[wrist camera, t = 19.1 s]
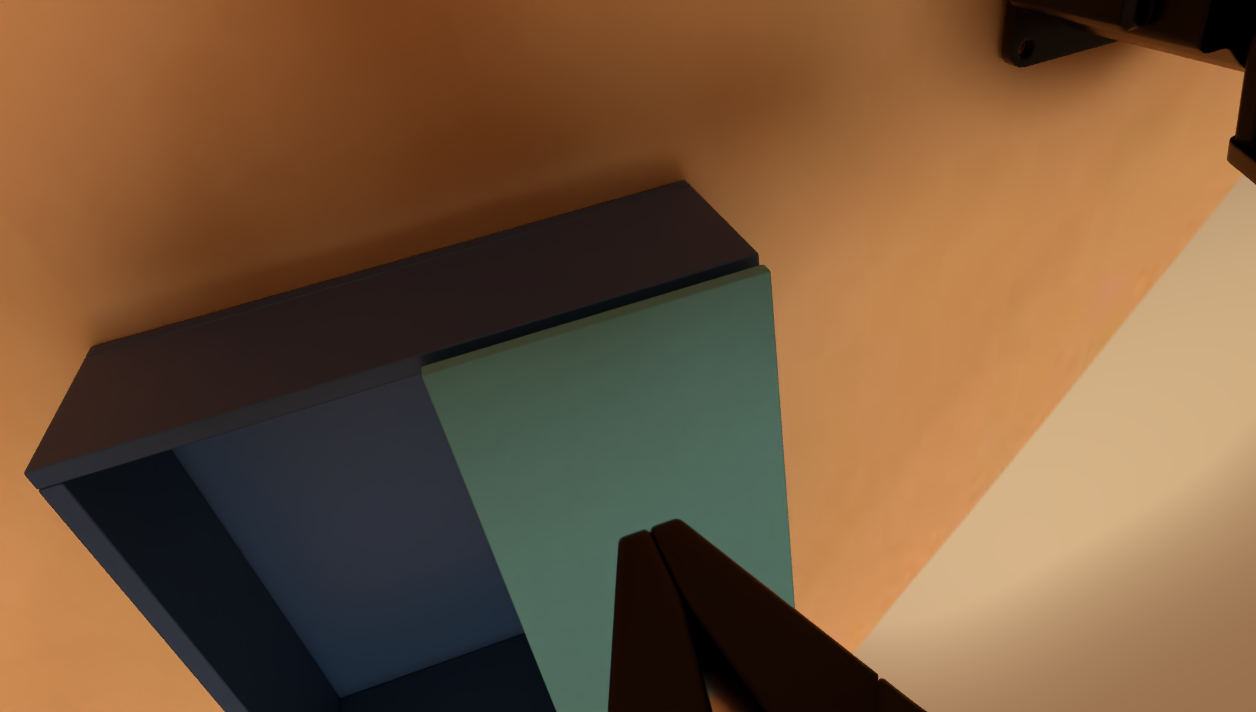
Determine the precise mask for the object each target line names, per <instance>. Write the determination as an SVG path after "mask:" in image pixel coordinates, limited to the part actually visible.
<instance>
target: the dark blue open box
mask: <svg viewBox="0 0 1256 712" xmlns="http://www.w3.org/2000/svg"><path fill="white" fill-rule="evenodd" d="M756 266H759V256H758V253H757V252H756V251H755V250H754V249H753V248H752V247H751V246H750V245H749V244H748V243H747V242H746V241H745V240H744V239H743V238H742V237H741V236H740V235H739V234H738V233H737V232H736V231H735V230H734V229H733V228H732V227H731V226H730V225H729V224H728V223H727V222H726V221H725V220H724V219H723V218H722V217H721V216H720V215H719V214H718V213H717V212H716V211H715V210H714V209H713V208H712V207H711V206H710V205H709V204H708V203H707V202H706V201H705V200H704V199H703V198H702V197H701V196H700V195H699V194H698V193H697V192H696V191H695V190H694V189H693V188H692V187H691V186H690V184H689V183H688V182H687V181H686V180H683V181H679V182H676V183H672V184H669V185H665V186H661V187H658V188H654V189H651V190H647V191H644V192H640V193H637V194H633V195H629V196H626V197H622V198H619V199H615V200H612V201H608V202H605V203H601V204H598V205H594V206H590V207H587V208H583V209H580V210H576V211H573V212H569V213H566V214H562V215H559V216H555V217H551V218H548V219H544V220H541V221H537V222H534V223H530V224H527V225H523V226H519V227H516V228H512V229H509V230H505V231H502V232H498V233H495V234H491V235H488V236H484V237H480V238H477V239H473V240H470V241H466V242H463V243H459V244H456V245H452V246H449V247H445V248H441V249H438V250H434V251H431V252H427V253H424V254H420V255H417V256H413V257H410V258H406V259H402V260H399V261H395V262H392V263H388V264H385V265H381V266H378V267H374V268H370V269H367V270H363V271H360V272H356V273H353V274H349V275H346V276H342V277H339V278H335V279H331V280H328V281H324V282H321V283H317V284H314V285H310V286H307V287H303V288H300V289H296V290H292V291H289V292H285V293H282V294H278V295H275V296H271V297H268V298H264V299H261V300H257V301H253V302H250V303H246V304H243V305H239V306H236V307H232V308H229V309H225V310H221V311H218V312H214V313H211V314H207V315H204V316H200V317H197V318H193V319H190V320H186V321H182V322H179V323H175V324H172V325H168V326H165V327H161V328H158V329H154V330H151V331H147V332H143V333H140V334H136V335H133V336H129V337H126V338H122V339H119V340H115V341H112V342H108V343H104V344H101V345H97V346H94V347H91V348H90V350H89V352H88V354H87V355H86V358H85V359H84V361H83V363H82V365H81V367H80V369H79V371H78V372H77V374H76V376H75V378H74V380H73V382H72V384H71V386H70V388H69V389H68V391H67V393H66V395H65V397H64V399H63V401H62V403H61V404H60V406H59V408H58V410H57V412H56V414H55V416H54V418H53V420H52V421H51V423H50V425H49V427H48V429H47V431H46V433H45V435H44V436H43V438H42V440H41V442H40V444H39V446H38V448H37V450H36V452H35V453H34V455H33V457H32V459H31V461H30V463H29V465H28V467H27V468H26V470H25V472H24V473H25V476H26V477H27V478H28V479H29V481H30V482H31V483H32V484H33V485H34V486H35V488H36V489H39V492H40V494H41V495H42V496H43V497H44V498H45V500H46V501H47V502H48V503H49V504H50V505H51V507H52V508H53V509H54V510H55V511H56V513H57V514H58V515H59V516H60V517H61V518H62V520H63V521H64V522H65V523H66V524H67V526H68V527H69V528H70V529H71V530H72V531H73V533H74V534H75V535H76V536H77V537H78V539H79V540H80V541H81V542H82V543H83V545H84V546H85V547H86V548H87V549H88V550H89V552H90V553H91V554H92V555H93V556H94V558H95V559H96V560H97V561H98V562H99V563H100V565H101V566H102V567H103V568H104V569H105V571H106V572H107V573H108V574H109V575H110V576H111V578H112V579H113V580H114V581H115V582H116V584H117V585H118V586H119V587H120V588H121V589H122V591H123V592H124V593H125V594H126V595H127V597H128V598H129V599H130V600H131V601H132V602H133V604H134V605H135V606H136V607H137V608H138V610H139V611H140V612H141V613H142V614H143V615H144V617H145V618H146V619H147V620H148V621H149V623H150V624H151V625H152V626H153V627H154V628H155V630H156V631H157V632H158V633H159V634H160V636H161V637H162V638H163V639H164V640H165V641H166V643H167V644H168V645H169V646H170V647H171V649H172V650H173V651H174V652H175V653H176V654H177V656H178V657H179V658H180V659H181V660H182V662H183V663H184V664H185V665H186V666H187V667H188V669H189V670H190V671H191V672H192V673H193V675H194V676H195V677H196V678H197V679H198V680H199V682H200V683H201V684H202V685H203V686H204V688H205V689H206V690H207V691H208V692H209V693H210V695H211V696H212V697H213V698H214V699H215V701H216V702H217V703H218V704H219V705H220V706H221V708H222V709H223V710H224V711H225V712H556V710H555V707H554V705H553V702H552V700H551V697H550V695H549V692H548V690H547V687H546V685H545V682H544V680H543V677H542V675H541V672H540V670H539V667H538V665H537V662H536V660H535V657H534V655H533V652H532V650H531V647H530V645H529V642H528V640H527V637H526V635H525V632H524V630H523V627H522V625H521V622H520V620H519V617H518V615H517V613H516V610H515V608H514V605H513V603H512V600H511V598H510V595H509V593H508V590H507V588H506V585H505V583H504V580H503V578H502V575H501V573H500V570H499V568H498V565H497V563H496V560H495V558H494V555H493V553H492V550H491V548H490V545H489V543H488V540H487V538H486V535H485V533H484V530H483V528H482V525H481V523H480V520H479V518H478V515H477V513H476V511H475V508H474V506H473V503H472V501H471V498H470V496H469V493H468V491H467V488H466V486H465V483H464V481H463V478H462V476H461V473H460V471H459V468H458V466H457V463H456V461H455V458H454V456H453V453H452V451H451V448H450V446H449V443H448V441H447V438H446V436H445V433H444V431H443V428H442V426H441V423H440V421H439V418H438V416H437V413H436V411H435V409H434V406H433V404H432V401H431V399H430V396H429V394H428V391H427V389H426V386H425V384H424V381H423V379H422V374H421V367H423V366H426V365H429V364H432V363H436V362H439V361H442V360H446V359H449V358H452V357H456V356H459V355H462V354H466V353H469V352H472V351H476V350H479V349H482V348H486V347H489V346H492V345H496V344H499V343H502V342H506V341H509V340H512V339H516V338H519V337H522V336H526V335H529V334H532V333H536V332H539V331H542V330H546V329H549V328H552V327H556V326H559V325H562V324H566V323H569V322H572V321H576V320H579V319H582V318H586V317H589V316H592V315H596V314H599V313H602V312H606V311H609V310H612V309H616V308H619V307H622V306H626V305H629V304H632V303H636V302H639V301H642V300H646V299H649V298H652V297H656V296H659V295H662V294H666V293H669V292H672V291H676V290H679V289H682V288H686V287H689V286H692V285H696V284H699V283H702V282H706V281H709V280H712V279H716V278H719V277H722V276H726V275H729V274H732V273H736V272H739V271H742V270H746V269H749V268H752V267H756Z"/></svg>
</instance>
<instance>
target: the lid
mask: <svg viewBox="0 0 1256 712" xmlns="http://www.w3.org/2000/svg"><path fill="white" fill-rule="evenodd" d="M421 374H422V379H423V381H424V384H425V386H426V389H427V391H428V394H429V396H430V399H431V401H432V404H433V406H434V409H435V411H436V413H437V416H438V418H439V421H440V423H441V426H442V428H443V431H444V433H445V436H446V438H447V441H448V443H449V446H450V448H451V451H452V453H453V456H454V458H455V461H456V463H457V466H458V468H459V471H460V473H461V476H462V478H463V481H464V483H465V486H466V488H467V491H468V493H469V496H470V498H471V501H472V503H473V506H474V508H475V511H476V513H477V515H478V518H479V520H480V523H481V525H482V528H483V530H484V533H485V535H486V538H487V540H488V543H489V545H490V548H491V550H492V553H493V555H494V558H495V560H496V563H497V565H498V568H499V570H500V573H501V575H502V578H503V580H504V583H505V585H506V588H507V590H508V593H509V595H510V598H511V600H512V603H513V605H514V608H515V610H516V613H517V615H518V617H519V620H520V622H521V625H522V627H523V630H524V632H525V635H526V637H527V640H528V642H529V645H530V647H531V650H532V652H533V655H534V657H535V660H536V662H537V665H538V667H539V670H540V672H541V675H542V677H543V680H544V682H545V685H546V687H547V690H548V692H549V695H550V697H551V700H552V702H553V705H554V707H555V710H556V712H608V698H609V682H610V666H611V649H612V633H613V617H614V601H615V585H616V569H617V553H618V542H619V539H620V538H621V537H623V536H625V535H628V534H631V533H634V532H637V531H640V530H643V529H646V530H648V531H649V532H650V529H651V528H652V527H653V526H654V525H657V524H660V523H663V522H666V521H669V520H672V519H676V518H677V519H681V520H682V521H684V522H685V523H687V524H688V525H689V526H690V527H692V528H693V529H694V530H695V531H697V532H698V533H699V534H700V535H702V536H703V537H704V538H706V539H707V540H708V541H709V542H711V543H712V544H713V545H714V546H716V547H717V548H718V549H720V550H721V551H722V552H723V553H725V554H726V555H727V556H728V557H730V558H731V559H732V560H733V561H735V562H736V563H737V564H739V565H740V566H741V567H742V568H744V569H745V570H746V571H747V572H749V573H750V574H751V575H753V576H754V577H755V578H756V579H758V580H759V581H760V582H761V583H763V584H764V585H765V586H766V587H768V588H769V589H770V590H772V591H773V592H774V593H775V594H777V595H778V596H779V597H780V598H782V599H783V600H784V601H786V602H787V603H788V604H789V605H791V606H792V607H793V608H794V609H795V603H794V589H793V575H792V562H791V548H790V534H789V520H788V507H787V493H786V479H785V465H784V451H783V438H782V424H781V410H780V396H779V383H778V369H777V355H776V341H775V327H774V314H773V300H772V286H771V272H770V270H769V269H768V268H767V267H766V266H765V265H759V266H756V267H752V268H749V269H746V270H742V271H739V272H736V273H732V274H729V275H726V276H722V277H719V278H716V279H712V280H709V281H706V282H702V283H699V284H696V285H692V286H689V287H686V288H682V289H679V290H676V291H672V292H669V293H666V294H662V295H659V296H656V297H652V298H649V299H646V300H642V301H639V302H636V303H632V304H629V305H626V306H622V307H619V308H616V309H612V310H609V311H606V312H602V313H599V314H596V315H592V316H589V317H586V318H582V319H579V320H576V321H572V322H569V323H566V324H562V325H559V326H556V327H552V328H549V329H546V330H542V331H539V332H536V333H532V334H529V335H526V336H522V337H519V338H516V339H512V340H509V341H506V342H502V343H499V344H496V345H492V346H489V347H486V348H482V349H479V350H476V351H472V352H469V353H466V354H462V355H459V356H456V357H452V358H449V359H446V360H442V361H439V362H436V363H432V364H429V365H426V366H423V367H421ZM712 711H713V710H712Z"/></svg>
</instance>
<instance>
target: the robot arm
mask: <svg viewBox="0 0 1256 712" xmlns="http://www.w3.org/2000/svg"><path fill="white" fill-rule="evenodd" d="M1116 41H1122V42H1125V43H1129V44H1133V45H1137V46H1141V47H1145V48H1149V49H1153V50H1157V51H1161V52H1165V53H1169V54H1173V55H1177V56H1181V57H1185V58H1189V59H1193V60H1197V61H1201V62H1205V63H1209V64H1213V65H1217V66H1221V67H1225V68H1229V69H1233V70H1237V71H1241V72H1244V79H1243V86H1242V92H1241V99H1240V106H1239V113H1238V120H1237V127H1236V134H1235V136H1233V137H1231V138H1230V141H1229V148H1228V155H1227V160H1228V162H1229V163H1230V164H1232V165H1233V166H1234V167H1235V168H1236V169H1238V170H1239V171H1240V172H1241V173H1242V174H1244V175H1245V176H1246V177H1247V178H1249V179H1250V180H1251V181H1252V182H1253V183H1255V184H1256V0H1007V5H1006V14H1005V24H1004V34H1003V43H1002V57H1003V59H1004V61H1005V62H1006V63H1008V64H1010V65H1013V66H1016V67H1027V66H1030V65H1034V64H1037V63H1041V62H1045V61H1048V60H1052V59H1055V58H1059V57H1062V56H1066V55H1070V54H1073V53H1077V52H1080V51H1084V50H1088V49H1091V48H1095V47H1098V46H1102V45H1106V44H1109V43H1113V42H1116ZM1023 42H1025V46H1024V49H1023V50H1022V52H1021V53H1020V54H1019V49H1020V46H1021V45H1022V44H1023ZM712 710H713V711H712ZM608 712H926V711H925V710H924V709H922V708H921V707H920V706H918V705H917V704H916V703H914V702H913V701H912V700H910V699H909V698H908V697H906V696H905V695H904V694H903V693H901V692H900V691H899V690H898V689H896V688H895V687H894V686H893V685H891V684H890V683H889V682H887V681H886V680H885V679H882V678H881V679H879V680H878V674H877V673H876V672H874V671H873V670H872V669H870V668H869V667H868V666H867V665H865V664H864V663H863V662H862V661H860V660H859V659H858V658H856V657H855V656H854V655H853V654H852V653H850V652H849V651H848V650H846V649H845V648H844V647H843V646H841V645H840V644H839V643H838V642H836V641H835V640H834V639H832V638H831V637H830V636H829V635H827V634H826V633H825V632H824V631H822V630H821V629H820V628H819V627H817V626H816V625H815V624H813V623H812V622H811V621H810V620H808V619H807V618H806V617H805V616H803V615H802V614H801V613H799V612H798V611H797V610H796V609H794V608H793V607H792V606H791V605H789V604H788V603H787V602H786V601H784V600H783V599H782V598H780V597H779V596H778V595H777V594H775V593H774V592H773V591H772V590H770V589H769V588H768V587H766V586H765V585H764V584H763V583H761V582H760V581H759V580H758V579H756V578H755V577H754V576H753V575H751V574H750V573H749V572H747V571H746V570H745V569H744V568H742V567H741V566H740V565H739V564H737V563H736V562H735V561H733V560H732V559H731V558H730V557H728V556H727V555H726V554H725V553H723V552H722V551H721V550H720V549H718V548H717V547H716V546H714V545H713V544H712V543H711V542H709V541H708V540H707V539H706V538H704V537H703V536H702V535H700V534H699V533H698V532H697V531H695V530H694V529H693V528H692V527H690V526H689V525H688V524H687V523H685V522H684V521H682V520H681V519H677V518H676V519H672V520H669V521H666V522H663V523H660V524H657V525H654V526H653V527H652V528H651V529H650V532H649V531H648V530H646V529H643V530H640V531H637V532H634V533H631V534H628V535H625V536H623V537H621V538H620V539H619V542H618V553H617V569H616V585H615V601H614V617H613V633H612V649H611V666H610V682H609V698H608Z"/></svg>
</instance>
